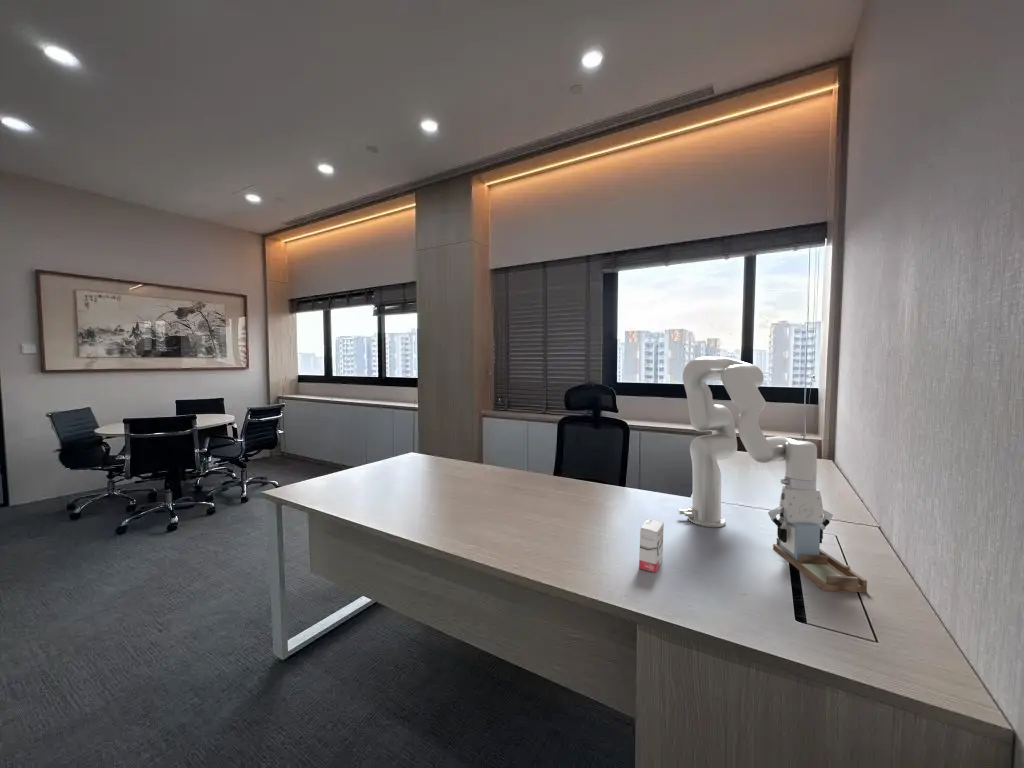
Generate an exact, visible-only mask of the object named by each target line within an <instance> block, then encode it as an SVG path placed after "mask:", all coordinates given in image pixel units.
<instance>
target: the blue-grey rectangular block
mask: <svg viewBox="0 0 1024 768" xmlns="http://www.w3.org/2000/svg"><path fill="white" fill-rule="evenodd" d="M785 529H786V530H787V542H786V543H784V542H782V541H781V540H780V542H779V546H780V547H781V548H782V549H783V550H785V551H786V552H787V553H788V554H790V555H791V556H792V557H793V558H795V559H796V560H799V555H819V552H820V549H821V548H820V547H821V546H820V545H821V543H820V526H819V525H817V524H790V523H789V524H788V525H787V526H786V527H785Z"/></svg>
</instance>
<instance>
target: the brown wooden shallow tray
mask: <svg viewBox="0 0 1024 768" xmlns="http://www.w3.org/2000/svg"><path fill="white" fill-rule="evenodd" d="M779 542H780V539H779V538H778V537H776V543H773V544H772V547H773V548H772V549H773V550H774V551H775V552H777V553H778V554H779V555H780V556H782V557H783V558H784V559H785V560H786V561H787V562H789V564H790V565H792V566H793V567H795V568H796V569H797V570H798V571H800V572H801V573H802V574H803V575H804V576H806V578H808V579H810V580H811V581H812V582H813V583H814V584H815V585H817V586H818V587H819V588H820V589H822V590H823V591H824V592H850V593H867V592H868V591H867V589H868V588H867V587H868V580H867V579H866V578H864V577H863V576H861V575H860V574H859V573H857V572H855V571H853V570H852V569H851V566H850V565H847V564H844V563H842V562H840V561H839V560H837V558H835V557H834V556H832V555H830V554H829V553H827V552H826V551H824V550H823V549H822V548H820V552H819V555H799V560H796V559H795V558H793V557H792V556H791V555H790V554H788V553H787V552H786V551H785V550H783V549H782V548H781V547H780V546H779Z"/></svg>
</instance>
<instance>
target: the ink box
mask: <svg viewBox="0 0 1024 768" xmlns="http://www.w3.org/2000/svg"><path fill="white" fill-rule="evenodd" d="M664 527H665V526H664V522H663V521H660V520H655V519H646V520H645V521H644V523H643V524H642V525H641V526H640V529H639V531H640V532H639V536H640V537H639V555H638V556H639V558H638V559H639V560H638V569H640V570H643V571H648V572H651V571H652V572H651V573H657V571H658V570H659V567H660V565H661V564H662V563H663V558H664V557H663V553H664V552H663V550H664Z"/></svg>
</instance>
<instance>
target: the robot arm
mask: <svg viewBox="0 0 1024 768" xmlns="http://www.w3.org/2000/svg"><path fill="white" fill-rule="evenodd" d="M682 381H683V387H684V391H685V394H686V398H687V407H688V408H687V409H688V414H689V420H690V425H691V427H692V428H693V429H694V430H695V431H697V432H711V434H704V435H699V436H696V437H695V438H693V439H692V440H691V442H690V445H689V453H690V458H691V464H692V466H691V467H692V470H691V471H692V500H691V501H692V504H691V505H690V506H689V508H687V509H686V508H685V509H684V508H679V509H678V514H679V515H684V516H685V517H687V519H689V520H690V521H691V522H690V521H689V520H688V521H689V522H690V523H692V522H693V523H692V524H694V523H695V525H697V524H698V526H700V525H701V527H705V526H706V528H721V527H724V526H726V523H727V521H726V518H724V517H723V516H722V471H721V467H719V464H718V461H723V460H724V461H725V460H729V459H732V458H733V457H734V456H735V455H736V454H737V451H738V440H737V434H736V427H735V420H734V416H733V414H732V411H731V410H730V409H729V408H728V407H727V406H725V405H723V404H715V403H714V400H713V393H712V391H711V388H710V386H709V385H708V383H706V382H707V381H721V382H722V385H723V386H724V388H725V390H726V393H727V394H728V395H729V397H730V399H731V401H732V403H733V404H734V407H735V408H736V411H737V413H738V419H737V431H738V436H739V439H740V440H741V442H742V445H743V446H744V448H745V450H746V453H748V455H749V457H751V459H752V460H754V461H755V462H757V463H760V464H772V463H776V462H784V463H785V464H784V465H785V466H784V467H785V470H784V472H785V474H784V478H782V479H780V483H781V484H782V485H783V486H782V489H781V493H780V496H779V504H778V505H779V507H776V508H774V509H772V510H771V509H770V511H768V512H767V514H768V516H769V517H770V519H771V521H772V522H773V523H774V524H775V525H776V526H777V532H776V534H777V538H779V539H780V540H781V541H782V542H784V543H786V542H787V530H786V529H785V527H786V526H787V525H788V524H789V523H790V524H817V525H819V526H820V544H822V543H823V539H824V530H826V527H827V526H828V525H829V524H830V523H831V522H830V521H831V520H832V519H833V518H834V517H833V516H834V515H833V513H831V512H829V511H827V510H825V509H824V507H823V499H822V494H821V490H820V489H819V488H817V481H818V480H817V479H818V478H817V472H818V471H817V468H818V466H817V465H818V463H817V461H818V448H817V445H816V444H815V443H813V442H811V441H805V440H796V439H792V438H790V437H785V436H781V435H778V436H767V437H766V436H765V435H764V433H763V431H762V429H761V427H760V424H759V416H760V413H761V412H762V411H763V409H765V408H766V406H767V402H766V400H765V398H764V397H763V395H762V394H761V392H760V390H759V387H761V385H762V384H763V382H764V374H763V371H762V370H761V368H760V367H758V366H756V365H755V364H752V363H749V362H745V361H742V360H738V359H734V358H730V357H727V356H701V357H696V358H693V359H691V360H690V361H688V362H687V364H686V365H685V367H684V369H683V371H682ZM777 515H779V518H777Z"/></svg>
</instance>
